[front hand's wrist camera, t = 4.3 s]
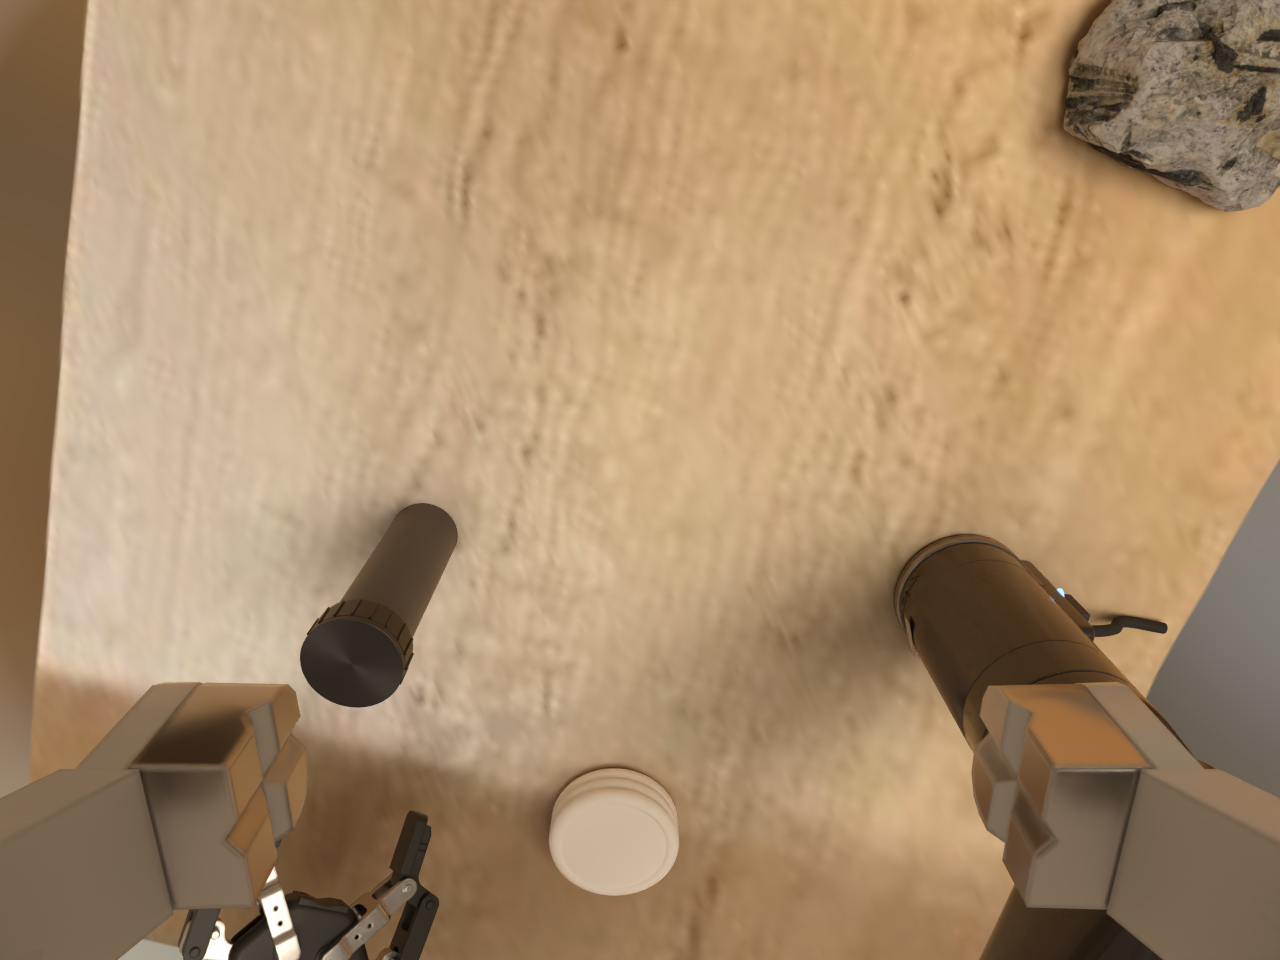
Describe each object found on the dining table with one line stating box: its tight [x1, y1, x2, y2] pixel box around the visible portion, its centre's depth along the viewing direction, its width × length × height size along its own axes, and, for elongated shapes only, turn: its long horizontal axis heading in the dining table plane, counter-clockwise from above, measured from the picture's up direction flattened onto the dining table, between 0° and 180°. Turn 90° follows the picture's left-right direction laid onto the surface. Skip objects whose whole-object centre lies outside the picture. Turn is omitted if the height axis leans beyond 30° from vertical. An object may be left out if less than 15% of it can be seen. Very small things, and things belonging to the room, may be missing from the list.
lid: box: [300, 599, 414, 707], centre depth 47 cm, size 6×6×2 cm
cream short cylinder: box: [549, 768, 679, 896], centre depth 69 cm, size 10×10×4 cm
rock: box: [1064, 0, 1280, 212], centre depth 49 cm, size 15×10×7 cm
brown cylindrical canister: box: [340, 504, 458, 638], centre depth 54 cm, size 4×4×16 cm
